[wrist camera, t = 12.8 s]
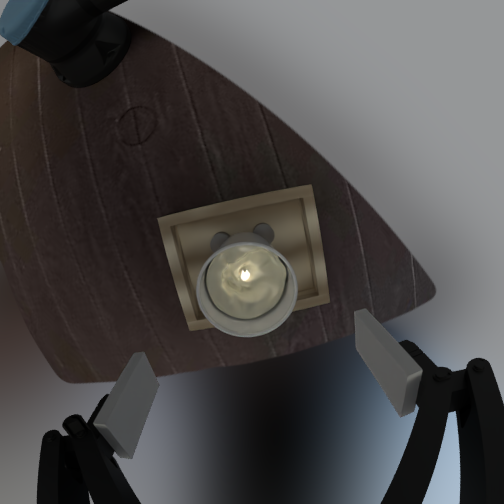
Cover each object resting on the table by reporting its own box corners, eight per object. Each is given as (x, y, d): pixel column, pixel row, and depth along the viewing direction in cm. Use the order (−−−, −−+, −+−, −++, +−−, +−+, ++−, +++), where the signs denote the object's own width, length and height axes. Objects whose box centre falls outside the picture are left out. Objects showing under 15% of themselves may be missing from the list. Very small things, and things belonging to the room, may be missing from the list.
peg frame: (165, 215, 40) (157, 218, 36) (305, 185, 39) (311, 184, 35) (194, 319, 43) (189, 331, 39) (322, 292, 43) (329, 302, 39)
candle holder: (257, 211, 37) (264, 221, 25) (294, 272, 38) (315, 306, 27) (196, 250, 37) (176, 277, 26) (235, 307, 39) (232, 352, 28)
